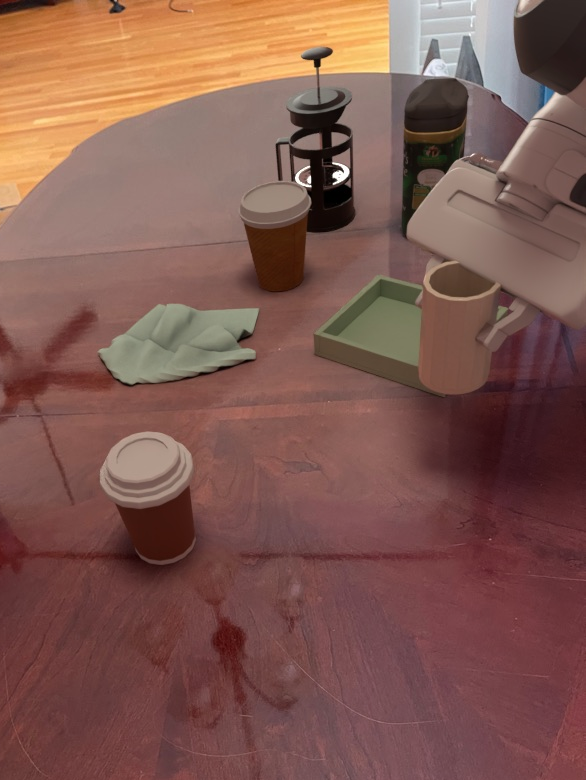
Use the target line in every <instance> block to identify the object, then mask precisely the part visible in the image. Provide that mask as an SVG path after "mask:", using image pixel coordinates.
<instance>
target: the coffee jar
mask: <svg viewBox="0 0 586 780" xmlns="http://www.w3.org/2000/svg"><path fill="white" fill-rule="evenodd" d="M468 93H469V92H468V88H467V86H465V84H463V83H462V82H461V81H459V80H458V79H457V78H456V77H447V78H445V77H444V78H430V79H425V80H424V81H423V82H422V83H421V84H419V85H417V86H416V87H415V88H414V89H412V91H410V93H409V95H408V97H407V99H406V101H405V105H404V114H403V115H404V118H403V145H402V149H403V150H402V151H403V152H402V154H403V155H402V190H401V191H402V195H401V196H402V197H401V231H402V233H403V234H404V235H406V236H407V225H408V222H409V221H410V219H411V218H412V216H413V215H414V213H415V212H416V210H417V209H418V207H419V206H420V205H421V203H422V202H423V201H424V199H425V198H426V197H427V196H428V194H429V193H430V192H431V191H432V189H433V188H434V187H435V186H436V184H437V183H438V182H439V181H440V180H441V179H442V178H443V177H444V176H445V175H446V173H447V172H448V170H449V169H450V167H451V166H452V164H453V163H454V162H455V161H456V160H460V159H461V158H463V157H465V147H466V133H467V122H468V121H467V120H468V102H469V98H470V95H469V94H468Z"/></svg>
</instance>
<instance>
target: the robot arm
mask: <svg viewBox="0 0 586 780" xmlns="http://www.w3.org/2000/svg"><path fill="white" fill-rule="evenodd" d="M513 42H514V49H515V54H516V59H517V64H518V67H519V70H520V73H521V74H523V75H525V76H526V77H528V78H529V79H532V80H533V81H535V82H536V83H538V84H541V85H542V86H544V87H546V88H548V89H549V90H551V91H553V94H552V95H551V97H550V98H549V99H548V101H547V102H546V103H545V104H544V105H543V106H542V107H541V108H540V109H539V110H538V111H537V112H535V114H534V115H533V116H532V117H531V119H530V120H529V122H528V124H527V125H526V127H525V128H524V129H523V131H522V133H521V134H520V136H519V137H518V139H517V140H516V142H515V143H514V145H512V148H511V150H510V151H509V153H508V154H507V156H506V157H505V159H504V160H503V161H500V160H497V159H492V158H489V157H488V156H486V155H485V154H483V153H479V152H473V153H472V154H471V155H466V156H464V157H463V158H461V159H460V160H456V161H455V162H454V163H453V164H452V166H451V167H450V169H449V170H448V172H447V173H446V175H445V176H444V177H443V178H442V179H441V180H440V181H439V182H438V183H437V184H436V186H435V187H434V188H433V189H432V191H431V192H430V193H429V194H428V196H427V197H426V198H425V199H424V201H423V202H422V203H421V205H420V206H419V207H418V209H417V210H416V212H415V213H414V215H413V216H412V218H411V219H410V221H409V222H408V225H407V235H406V238H407V240H409V242H411V243H412V244H413V245H415V246H416V247H417V248H419V249H421V250H423V251H425V253H428V254H430V255H431V257H430V259H429V260H428V262H427V263H426V266H425V274H424V276H425V275H426V274H427V273H428V272H429V271H430V270H431V269H432V268H433V267H435V266H438V265H440V264H442V263H445V262H450V261H457V262H459V266H460V267H462V268H464V269H466V270H467V271H469V272H471V273H473V274H475V275H477V276H479V277H481V278H483V279H485V280H486V281H488V282H490V283H492V284H494V285H495V282H497V283H499V284H501V291H500V292H502V293H504V294H506V295H507V296H509V297H511V298H513V301H512V302H511V304H510V305H509V307H508V308H509V310H508V311H511V313H508V316H506V317H505V318H503V319H502V320H500V321H499V322H497V323H496V324H495V325H491V324H489V323H487V322H486V324H485V325H484V326H483V328H482V329H481V332H480V333H478V334H477V336H476V338H475V341H476V342H478V343H479V344H481V345H482V346H484V347H486V348H487V349H489V350H490V351H492V353H495V352H497V351H498V350H499V348H500V347H501V346H502V345H503V343H504V342H505V340H506V339H507V337H510V336H511V335H513V334H515V333H517V332H519V331H520V330H522V329H524V328H526V327H527V326H529V325H531V324H532V323H533V321H534V320H535V318H536V317H537V316H538V314H539V313H542V314H543V315H545V316H547V317H549V318H551V319H553V320H555V321H556V322H558V323H561V325H563V326H566V327H568V328H570V329H572V330H574V331H579V330H581V329H583V328H586V0H517V2H516V4H515V7H514V11H513ZM422 294H423V290H422V291H421V293H420V294H419V296H418V298H417V299H416V301H415V305H416V306H417V307H419V308H420V309H422Z"/></svg>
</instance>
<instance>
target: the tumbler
mask: <svg viewBox="0 0 586 780" xmlns="http://www.w3.org/2000/svg"><path fill="white" fill-rule="evenodd" d="M422 286H423V294H422V311H421V329H420V346H419V364H418V371H419V372H418V374H419V379H420V381H421V382H422V383H423V384H424V385H425V386H426V387H427V388H429V389H431V390H433V391H435V392H438V393H443V394H447V395H451V396H452V395H464V394H468V393H472V392H475V391H476V390H478V389H480V388H481V387H483V386H484V385H485V384H486V382H487V381H488V379H489V377H490V372H491V364H492V356H493V352H492V351H490V350H489V349H487V348H486V347H484V346H482V345H481V344H479V343H478V342H476V341H475V338H476V336H477V334H478V333H480V332H481V329H482V328H483V326H484V325H485V324H486V322H487V323H489V324H491V325H495V324H496V321H497V313H498V306H500V299H501V292H502V291H501V284H499V283H497V282H495V285H494V284H492V283H490V282H488V281H486V280H485V279H483V278H481V277H479V276H477V275H475V274H473V273H471V272H469V271H467V270H466V269H464V268H462V267H460V266H459V262H457V261H450V262H445V263H442V264H440V265H438V266H435V267H433V268H432V269H431V270H430V271H429V272H428V273H427V274H426V275H425V274H424V278H423V282H422Z"/></svg>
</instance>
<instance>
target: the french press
mask: <svg viewBox="0 0 586 780" xmlns="http://www.w3.org/2000/svg"><path fill="white" fill-rule="evenodd" d="M333 53H334V50H333V48H331V47H329V46H315V47H311V48H309V49H306V50H304V51H303V52H302V53H301V54H300V58H301V59H303V60H304V61H305V60H306V61H313V67H314V68H315V73H316V74H315V75H316V87H313V88H307V89H305V90H303V91H300V92H298V93H295V94H294V95H292V96H291V97H289V98H288V100H287V101H286V103H285V107H286V110H287V111H288V112H289V119H290V123H291V124H292V125H293V126H295V127H297V128H299V129H297V130H295V131H294V132H293V133H292V134H290V136H285V137H278V138H277V140H276V142H275V156H276V157H275V158H276V168H277V181H284V177H283V165H282V151H281V146H283V145H288V152H289V167H290V181H292V182H296V183H299V184H301V185H302V186H304V187H305V188H306V190H307V194H308V195H309V197H310V198H311V206H310V208H309V212H308V217H307V232H311V233H325V232H331V231H334V230H338V229H341V228H343V227H345V226H347V225H349V224H350V223H351V222H352V221H353V220H354V218H355V217H356V208H355V198H354V197H355V194H354V139H353V138H354V134H353V133H354V131H353V128H351V127H350V126H349V125H348V124H344V123H340V122H339V120H340V119H341V117H342V116H343V114H344V112H345V110H346V107H347V106H348V105H349V104H350V103H351V102H352V101H353V93H352V91H350V90H349V89H347V88H344V87H340V86H321V85H320V84H321V83H320V67H321V66H322V59H326V58H329V57H330V56H331V55H332V54H333ZM332 133H334V134H335V133H337V134H342V135H345V136H346V137H348V138H347V139H346V140H344V141H343V142H340V143H339V144H336V145H333V137H332V136H333V135H332ZM316 134H318V141H319V149H306V148H301V147H297V146H295V145H294V144H295V143H296V142H298V141H299V140H301V139H303V138H306V137H308V136H311V135H312V136H313V135H316ZM348 150H349V166H348V165H347V164H344V163H341V162H336V161H333V157H336V156H339V155H341V154H343V153H345V152H347V151H348ZM294 157H295V158H296V159H300V160H308V161H309V164H308V165H306V166H304V167H302V168H300V169H299V170H298V171H296V172H295V160H294V159H295V158H294ZM349 181H350V185H349V184H347V183H348V182H349ZM325 205H335V206H333V207H329V208H325Z"/></svg>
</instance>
